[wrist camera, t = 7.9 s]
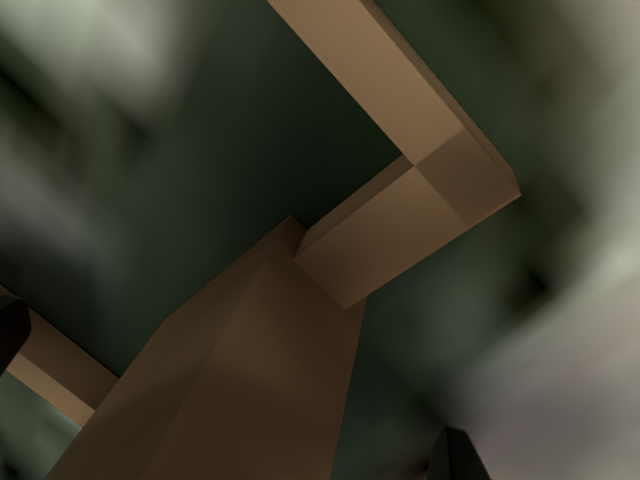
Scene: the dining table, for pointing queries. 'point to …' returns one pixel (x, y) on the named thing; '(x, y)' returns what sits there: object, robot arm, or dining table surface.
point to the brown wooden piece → (282, 292)
